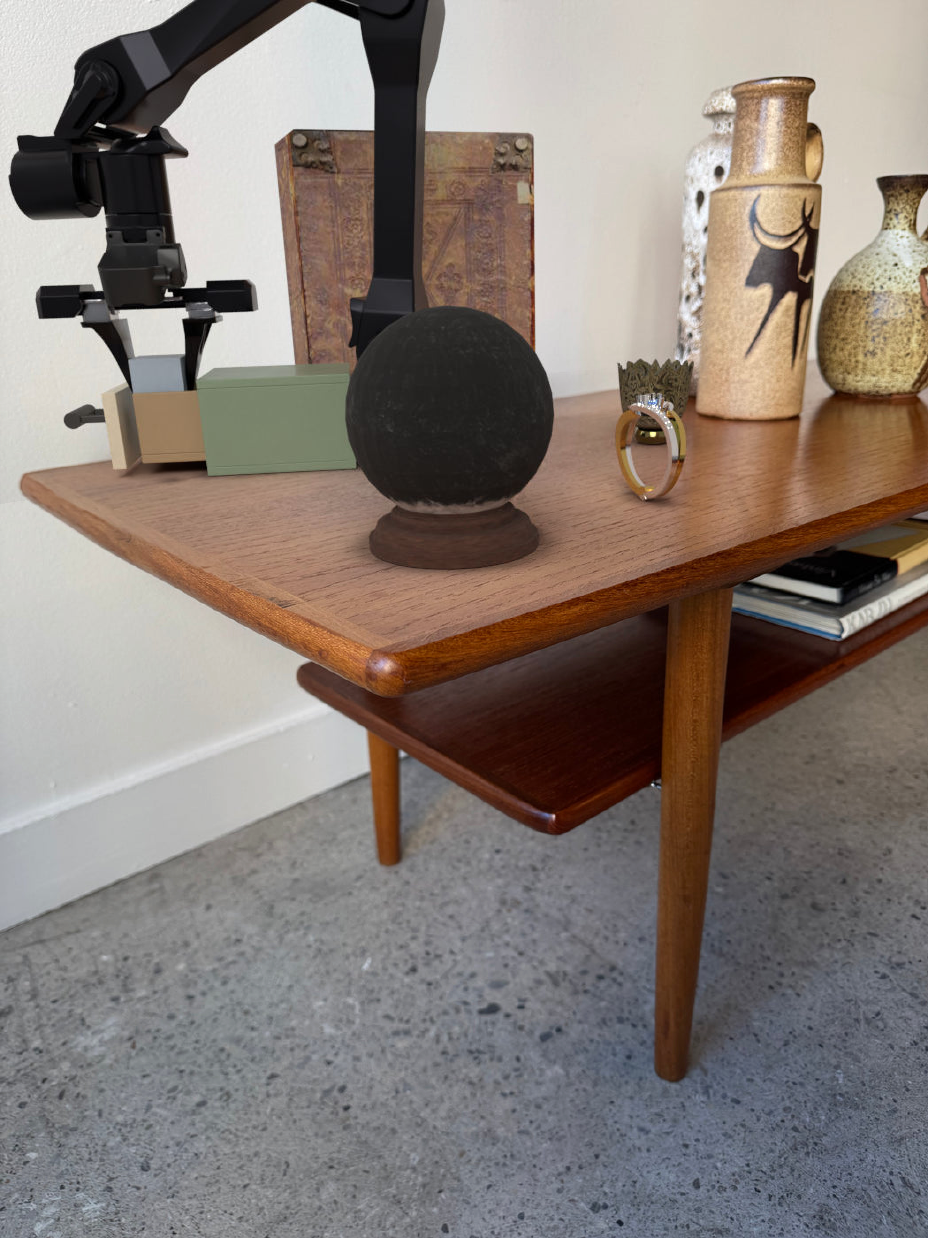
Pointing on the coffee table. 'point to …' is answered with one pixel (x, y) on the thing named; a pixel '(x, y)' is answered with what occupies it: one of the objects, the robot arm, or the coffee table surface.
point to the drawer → (146, 425)
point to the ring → (673, 437)
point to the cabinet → (275, 418)
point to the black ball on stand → (450, 436)
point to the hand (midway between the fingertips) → (164, 395)
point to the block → (158, 373)
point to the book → (452, 230)
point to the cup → (654, 379)
